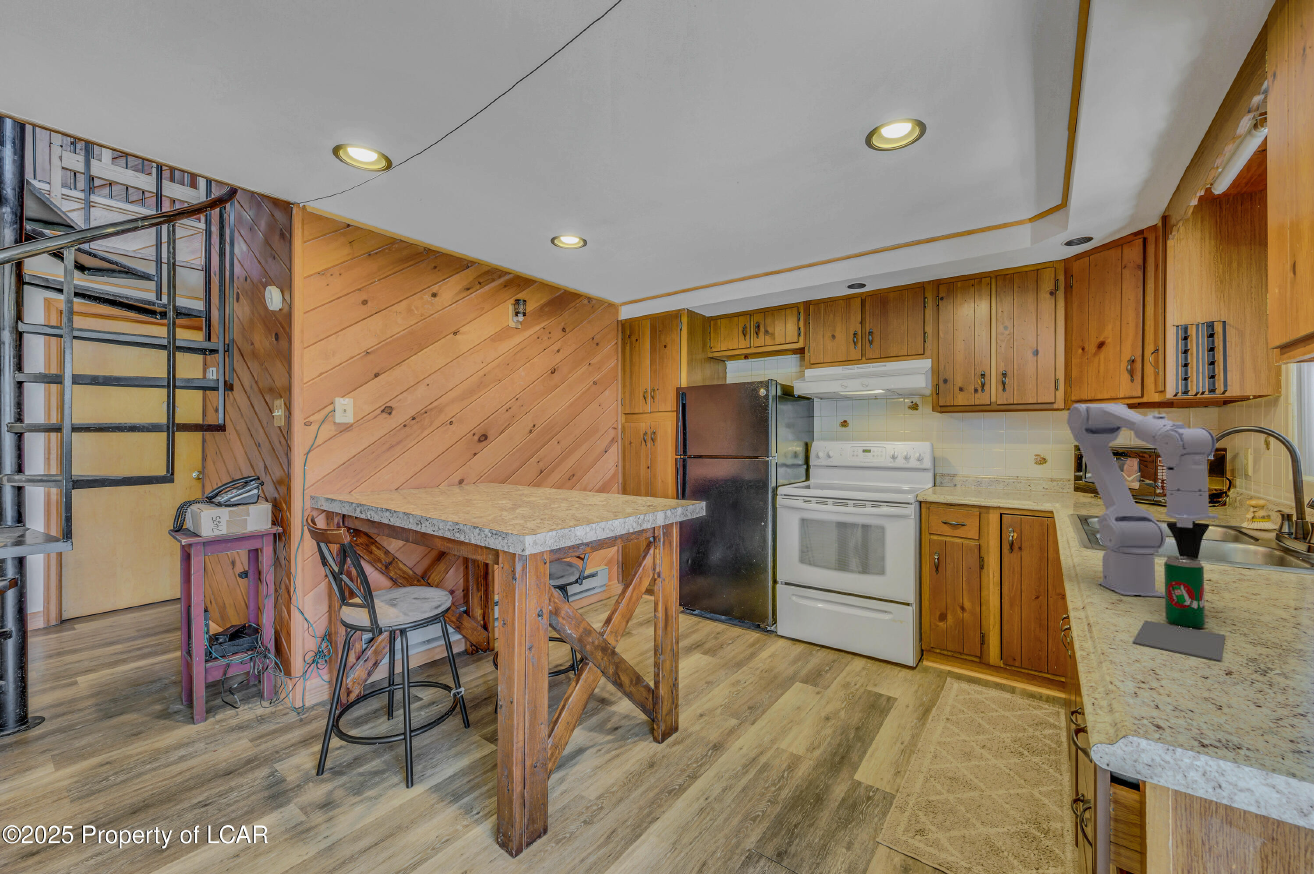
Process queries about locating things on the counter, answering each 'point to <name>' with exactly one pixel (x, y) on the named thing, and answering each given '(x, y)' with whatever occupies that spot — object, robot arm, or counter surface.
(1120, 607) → the counter surface
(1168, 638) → the mat
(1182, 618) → the soda can
